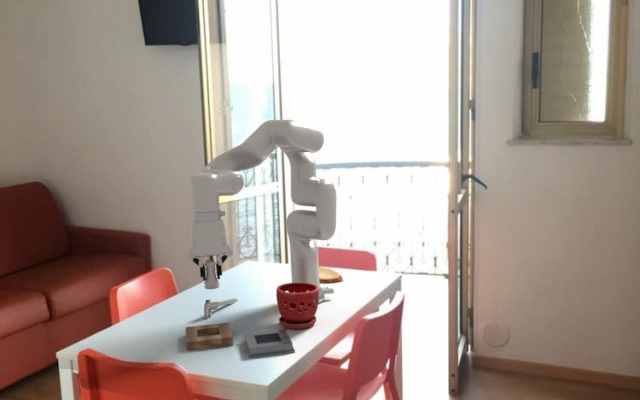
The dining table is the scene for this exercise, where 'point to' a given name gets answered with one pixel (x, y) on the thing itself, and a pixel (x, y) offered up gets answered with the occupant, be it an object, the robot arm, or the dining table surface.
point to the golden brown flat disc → (329, 276)
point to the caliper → (215, 306)
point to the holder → (267, 343)
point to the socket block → (208, 336)
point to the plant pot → (297, 304)
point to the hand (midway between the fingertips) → (211, 278)
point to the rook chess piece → (211, 275)
